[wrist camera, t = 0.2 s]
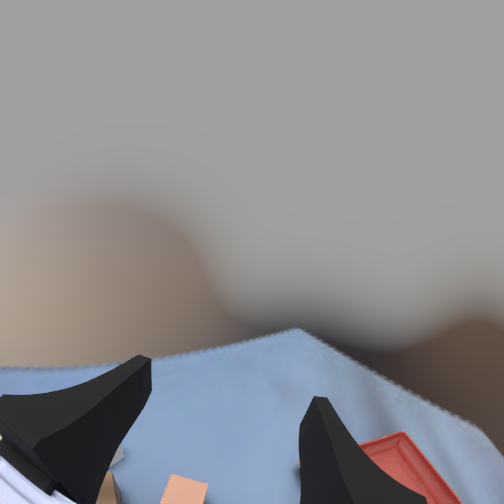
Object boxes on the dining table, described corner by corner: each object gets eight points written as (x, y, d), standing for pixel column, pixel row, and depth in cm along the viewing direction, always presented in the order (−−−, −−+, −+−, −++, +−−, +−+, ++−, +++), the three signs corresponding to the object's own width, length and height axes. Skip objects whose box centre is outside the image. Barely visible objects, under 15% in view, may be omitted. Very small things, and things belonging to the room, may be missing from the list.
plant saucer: (450, 515, 12) (466, 503, 11) (336, 580, 8) (352, 576, 7) (393, 442, 29) (403, 429, 28) (287, 470, 25) (295, 457, 24)
